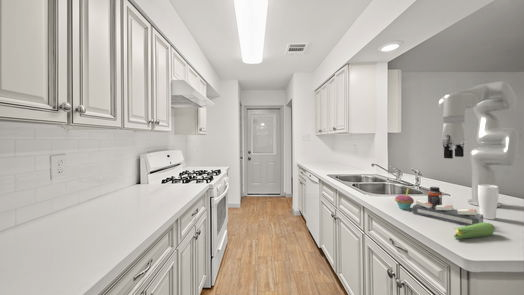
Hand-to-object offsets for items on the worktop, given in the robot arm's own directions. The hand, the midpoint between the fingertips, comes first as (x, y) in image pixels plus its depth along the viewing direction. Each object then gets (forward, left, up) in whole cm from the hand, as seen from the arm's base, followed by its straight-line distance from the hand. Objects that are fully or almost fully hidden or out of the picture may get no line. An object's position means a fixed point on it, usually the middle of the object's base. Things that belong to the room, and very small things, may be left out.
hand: (453, 157), depth 105 cm
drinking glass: (-11, +10, -29) cm, 32 cm away
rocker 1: (+6, -10, -23) cm, 26 cm away
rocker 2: (+6, -2, -23) cm, 24 cm away
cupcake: (+2, -20, -29) cm, 35 cm away
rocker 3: (+6, +6, -23) cm, 24 cm away
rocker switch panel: (+4, -2, -28) cm, 29 cm away
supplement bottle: (-10, -10, -29) cm, 32 cm away
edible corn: (+19, +10, -29) cm, 36 cm away
